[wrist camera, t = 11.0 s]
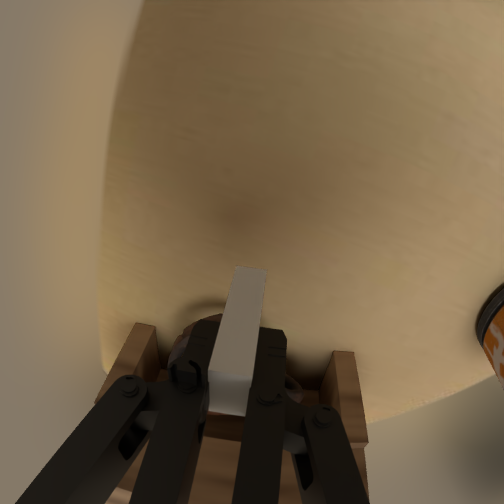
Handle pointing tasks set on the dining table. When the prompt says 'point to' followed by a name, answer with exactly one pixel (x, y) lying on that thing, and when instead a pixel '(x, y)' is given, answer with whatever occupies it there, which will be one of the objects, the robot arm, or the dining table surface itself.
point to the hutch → (239, 424)
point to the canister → (493, 334)
